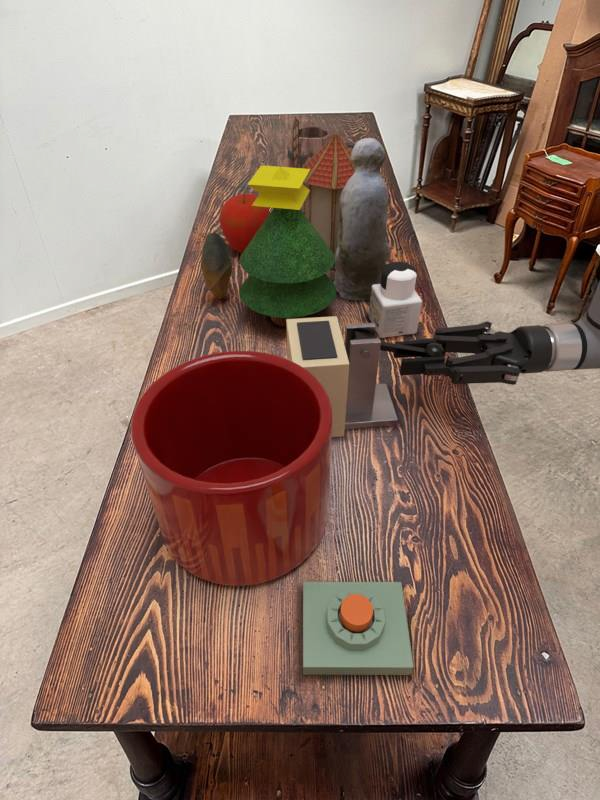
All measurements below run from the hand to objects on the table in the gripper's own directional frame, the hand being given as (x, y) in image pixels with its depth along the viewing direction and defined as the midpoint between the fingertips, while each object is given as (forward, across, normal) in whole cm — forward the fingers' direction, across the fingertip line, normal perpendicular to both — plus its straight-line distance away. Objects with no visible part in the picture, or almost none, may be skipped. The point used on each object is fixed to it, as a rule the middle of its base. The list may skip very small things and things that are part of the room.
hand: (398, 358), depth 84 cm
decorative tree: (+15, +29, -11) cm, 34 cm away
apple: (+22, +58, -11) cm, 63 cm away
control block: (+13, -37, -10) cm, 40 cm away
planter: (+25, -19, -10) cm, 33 cm away
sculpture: (-2, +38, -11) cm, 40 cm away
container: (-6, +23, -11) cm, 26 cm away
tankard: (+1, +79, -11) cm, 80 cm away
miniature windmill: (+4, +56, -11) cm, 57 cm away
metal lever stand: (+6, 0, -10) cm, 12 cm away
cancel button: (+13, -37, -7) cm, 40 cm away
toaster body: (+13, 0, -10) cm, 17 cm away
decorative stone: (+29, +37, -11) cm, 48 cm away
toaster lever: (0, 0, 0) cm, 1 cm away
